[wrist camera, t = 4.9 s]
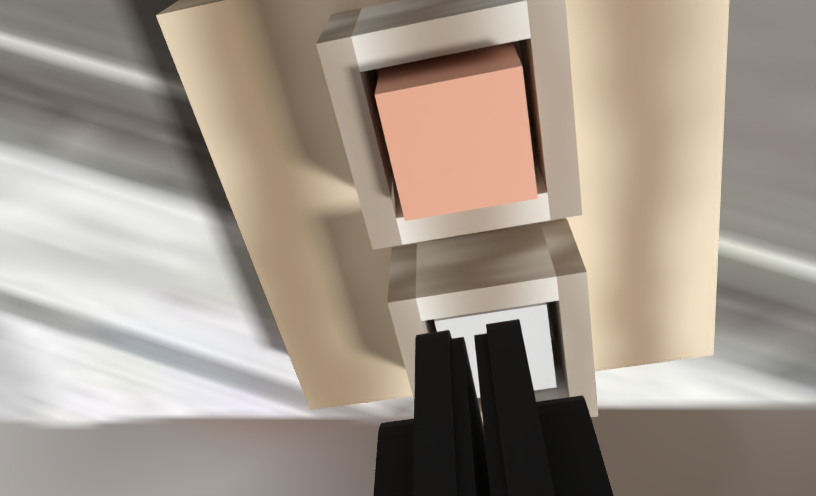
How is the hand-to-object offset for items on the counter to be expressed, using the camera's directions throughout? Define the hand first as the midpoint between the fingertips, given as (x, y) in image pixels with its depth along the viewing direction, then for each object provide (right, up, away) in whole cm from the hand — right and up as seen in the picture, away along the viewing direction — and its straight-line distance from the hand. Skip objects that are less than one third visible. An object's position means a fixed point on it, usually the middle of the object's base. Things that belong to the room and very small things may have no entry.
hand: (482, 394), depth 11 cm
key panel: (+1, +5, +17) cm, 18 cm away
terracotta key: (0, +7, +10) cm, 13 cm away
